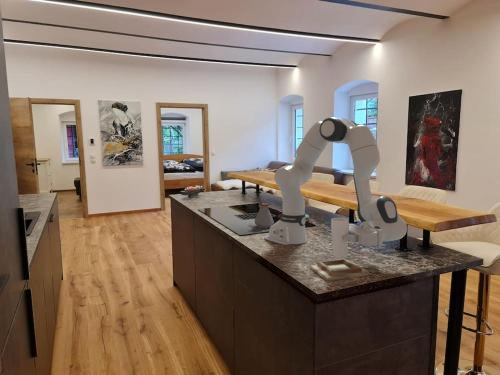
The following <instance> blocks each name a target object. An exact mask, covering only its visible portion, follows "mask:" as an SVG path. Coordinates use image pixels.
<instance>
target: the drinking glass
mask: <svg viewBox="0 0 500 375" xmlns="http://www.w3.org/2000/svg"><path fill="white" fill-rule="evenodd" d="M349 220H350V219H349V218H347V217H333V218H331V219H330V232H331V243H332V255H333V257H334V258H336V259H343V258H345V259H347V257H348V247H349V246H348V245H349V240H348V241H344V240H343V239H342V238H343V237H342V236H343V235H349V224H350V221H349Z"/></svg>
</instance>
